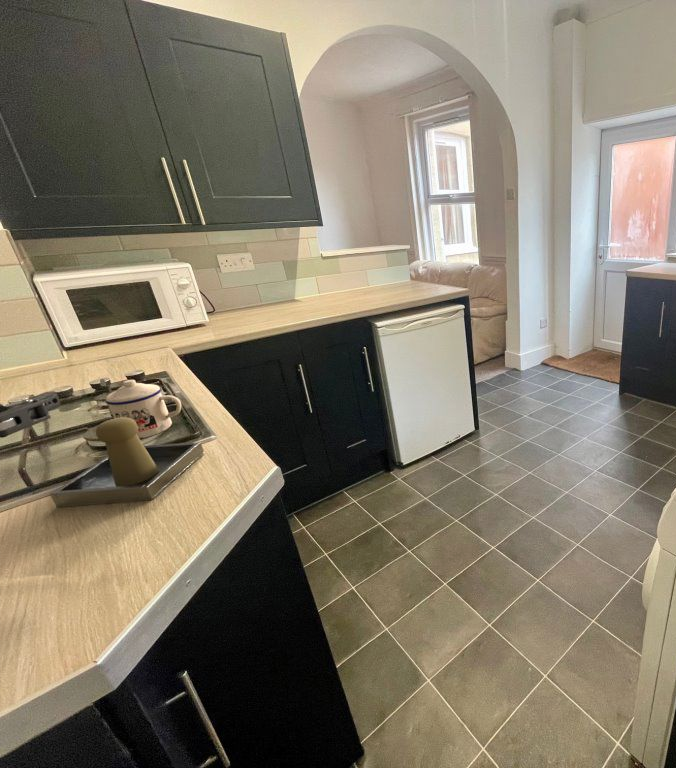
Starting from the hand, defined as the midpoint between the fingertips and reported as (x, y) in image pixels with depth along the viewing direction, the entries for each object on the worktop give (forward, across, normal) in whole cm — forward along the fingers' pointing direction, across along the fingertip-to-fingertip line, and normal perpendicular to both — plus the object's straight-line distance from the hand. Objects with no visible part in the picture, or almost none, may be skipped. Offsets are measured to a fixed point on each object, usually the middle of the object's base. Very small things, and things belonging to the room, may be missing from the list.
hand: (20, 401), depth 56 cm
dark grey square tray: (+13, 0, +20) cm, 23 cm away
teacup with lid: (+33, +9, +18) cm, 39 cm away
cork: (+13, 0, +19) cm, 23 cm away
